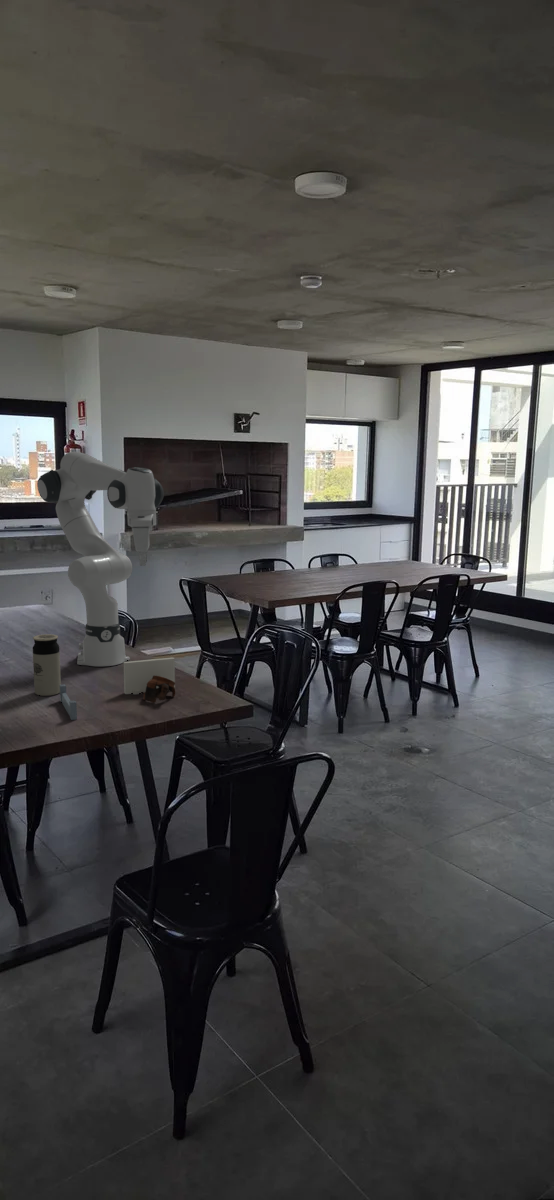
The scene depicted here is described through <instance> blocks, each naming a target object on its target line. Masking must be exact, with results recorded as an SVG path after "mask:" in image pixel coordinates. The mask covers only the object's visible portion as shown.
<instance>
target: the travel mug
mask: <svg viewBox="0 0 554 1200" xmlns="http://www.w3.org/2000/svg"><path fill="white" fill-rule="evenodd" d="M32 639H33V641H34V645H33V646H32V661H33V663H32V665H33V683H34V684H33V685H34V694H35V695H37V696H39V695H40V696H41V697H49V696H50V697H51V696H55V695H58V694H60V685H62V682H61V657H60V654H61V653H60V644H59V643H58V639H59V635H57V634H53V633H52V634H50V633H49V634H48V633H47V634H37V635H35V636H33V637H32Z"/></svg>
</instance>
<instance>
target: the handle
mask: <svg viewBox="0 0 554 1200" xmlns="http://www.w3.org/2000/svg"><path fill="white" fill-rule="evenodd" d="M59 700H60V701H59V702H60V703H61V702H62V703H61V704H62V705H63V707H64V709H65V711H66V713H67V714H68V716H69V719H70V720H71V721H76V719H77V720H78V710H77V709H78V708H77V701H76V700H71V699H70V697H69V695H68V694H67V685H66V684H65V683H63V684H62V683H61V685H60V693H59Z"/></svg>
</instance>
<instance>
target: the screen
mask: <svg viewBox="0 0 554 1200" xmlns="http://www.w3.org/2000/svg"><path fill="white" fill-rule="evenodd" d="M175 663H176V661H175V657H174V656H173V657H164V658H153V659H151V658H150V659H142V660H128V661H124V662H123V693H124V695H139V693H141V692H143V693H145V692H146V686H147V683H148V682H149V681H150V680H151V679H152V678H153V676H161V677H164V678H167V679H169V680H171V681H173V682H175V683H176V669H175V667H176V666H175V665H176V664H175ZM174 687H175V688H176V684H175V685H174ZM156 688H159V687H158V686H156ZM131 693H133V694H131ZM141 694H142V693H141Z"/></svg>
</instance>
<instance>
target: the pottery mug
mask: <svg viewBox="0 0 554 1200" xmlns="http://www.w3.org/2000/svg"><path fill="white" fill-rule="evenodd" d="M174 685H175V687H174ZM156 686H158V687H159V688H156ZM168 690H169V691H168ZM168 692H171V697H172V698H174V697H175V696H176V681H175V682H173V681H171V680H169V679H167V678H164V677H161V676H153V678H152V679H151V680H150V681H149V682H148V683H147V686H146V692H143V698H142V700H144V701H147V702H151V703H154V702H156V703H157V699H158V700H159V701H165V700H166V698H167V694H168Z"/></svg>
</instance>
